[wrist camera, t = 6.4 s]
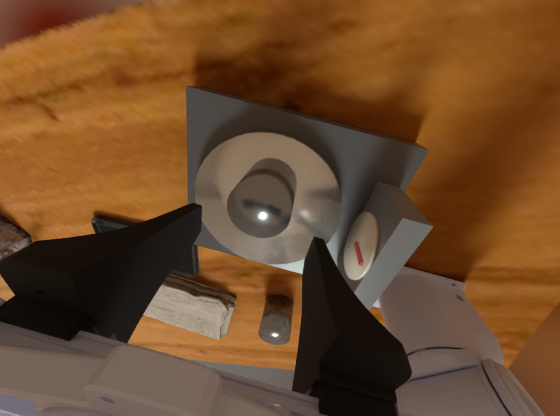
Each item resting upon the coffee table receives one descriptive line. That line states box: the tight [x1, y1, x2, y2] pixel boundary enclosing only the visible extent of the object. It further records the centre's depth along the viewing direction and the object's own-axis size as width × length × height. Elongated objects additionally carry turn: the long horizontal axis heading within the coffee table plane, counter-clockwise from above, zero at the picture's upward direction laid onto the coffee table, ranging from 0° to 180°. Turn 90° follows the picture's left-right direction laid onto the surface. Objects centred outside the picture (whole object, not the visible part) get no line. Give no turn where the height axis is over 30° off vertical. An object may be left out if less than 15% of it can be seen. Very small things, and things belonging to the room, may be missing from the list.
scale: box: [186, 86, 434, 310], centre depth 19 cm, size 20×17×8 cm
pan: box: [195, 131, 342, 264], centre depth 20 cm, size 14×14×1 cm
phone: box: [91, 215, 199, 277], centre depth 30 cm, size 8×1×15 cm
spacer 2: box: [259, 295, 293, 345], centre depth 31 cm, size 4×4×5 cm
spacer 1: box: [227, 158, 297, 238], centre depth 16 cm, size 4×4×5 cm
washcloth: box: [143, 274, 236, 339], centre depth 35 cm, size 12×18×3 cm, turn 74°
